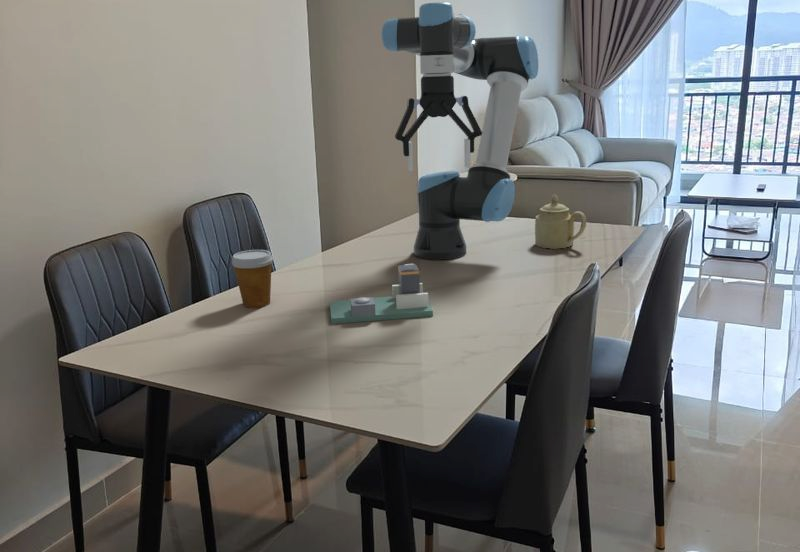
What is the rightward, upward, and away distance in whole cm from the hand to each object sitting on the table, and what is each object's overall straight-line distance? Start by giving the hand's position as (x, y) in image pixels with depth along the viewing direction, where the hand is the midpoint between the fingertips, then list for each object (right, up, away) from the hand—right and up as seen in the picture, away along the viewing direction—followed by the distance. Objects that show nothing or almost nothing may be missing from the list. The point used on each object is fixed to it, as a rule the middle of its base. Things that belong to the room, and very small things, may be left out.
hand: (439, 168), depth 169 cm
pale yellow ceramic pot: (+38, -16, +41) cm, 58 cm away
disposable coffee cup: (-43, -32, -1) cm, 54 cm away
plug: (-7, -31, -8) cm, 33 cm away
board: (-14, -33, -9) cm, 37 cm away
